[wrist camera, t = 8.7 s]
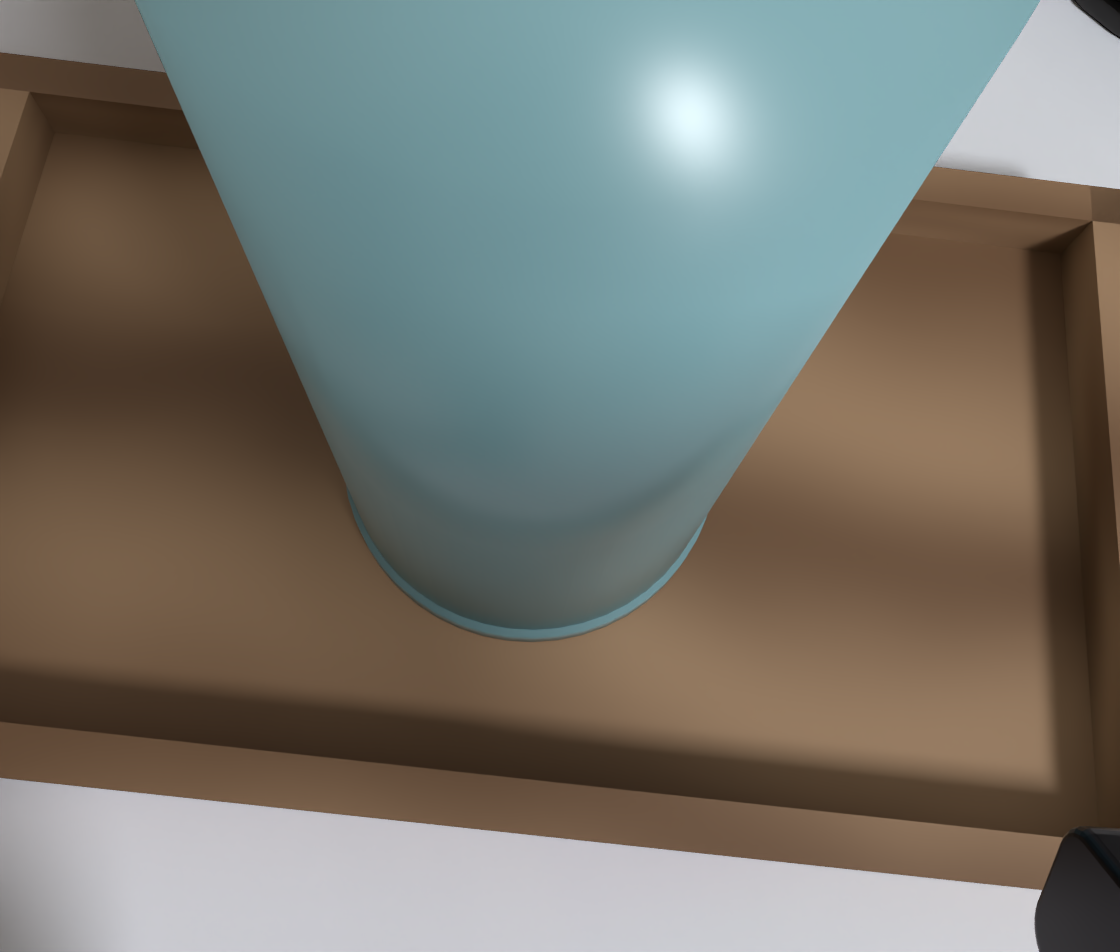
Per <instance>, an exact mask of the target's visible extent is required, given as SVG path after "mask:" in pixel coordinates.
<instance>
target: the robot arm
mask: <svg viewBox="0 0 1120 952" xmlns="http://www.w3.org/2000/svg"><path fill="white" fill-rule="evenodd" d="M1035 934H1036V940H1037V945H1038V949H1039V952H1120V828H1107V827H1094V826H1077V827H1073V828H1072V829H1070V830H1069V831H1068V832H1067V833H1066V834H1065V835H1064V837H1063V839H1062V841H1061V843H1060V846H1059V848H1058V851H1057V854H1056V856H1055V859H1054V861H1053V864H1052V867H1051V869H1050V872H1049V874H1048V877H1047V880H1046V882H1045V885H1044V887H1043V890H1042V892H1041V895H1040V898H1039V900H1038V903H1037V907H1036V912H1035Z"/></svg>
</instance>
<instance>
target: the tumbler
mask: <svg viewBox="0 0 1120 952" xmlns="http://www.w3.org/2000/svg"><path fill="white" fill-rule="evenodd" d="M135 2H136V5H137V7H138V9H139V12H140V14H141V16H142V18H143V21H144V23H145V25H146V28H147V30H148V32H149V34H150V37H151V39H152V41H153V44H154V46H155V48H156V51H157V53H158V55H159V57H160V60H161V62H162V64H163V67H164V69H165V71H166V73H167V76H168V78H169V80H170V83H171V85H172V87H173V89H174V92H175V94H176V96H177V99H178V101H179V103H180V105H181V108H182V110H183V112H184V115H185V117H186V119H187V121H188V124H189V126H190V128H191V131H192V133H193V135H194V137H195V140H196V142H197V144H198V147H199V149H200V151H201V153H202V156H203V158H204V160H205V163H206V165H207V167H208V169H209V172H210V174H211V176H212V179H213V181H214V183H215V186H216V188H217V190H218V192H219V195H220V197H221V199H222V202H223V204H224V206H225V208H226V211H227V213H228V215H229V218H230V220H231V222H232V224H233V227H234V229H235V231H236V234H237V236H238V238H239V240H240V243H241V245H242V247H243V250H244V252H245V254H246V256H247V259H248V261H249V263H250V266H251V268H252V270H253V272H254V275H255V277H256V279H257V282H258V284H259V286H260V288H261V291H262V293H263V295H264V298H265V300H266V302H267V304H268V307H269V309H270V311H271V314H272V316H273V318H274V321H275V323H276V325H277V327H278V330H279V332H280V334H281V337H282V339H283V341H284V343H285V346H286V348H287V350H288V353H289V355H290V357H291V359H292V362H293V364H294V366H295V369H296V371H297V373H298V375H299V378H300V380H301V382H302V385H303V387H304V389H305V391H306V394H307V396H308V398H309V401H310V403H311V405H312V407H313V410H314V412H315V414H316V417H317V419H318V421H319V423H320V426H321V428H322V430H323V433H324V435H325V437H326V439H327V442H328V444H329V446H330V449H331V451H332V453H333V456H334V458H335V460H336V462H337V465H338V467H339V469H340V472H341V474H342V476H343V478H344V481H345V483H346V488H347V494H348V499H349V502H350V505H351V508H352V511H353V515H354V518H355V521H356V523H357V525H358V527H359V529H360V531H361V534H362V536H363V538H364V540H365V542H366V544H367V546H368V548H369V550H370V552H371V553H372V555H373V557H374V558H375V560H376V561H377V563H378V564H379V566H380V567H381V569H382V570H383V571H384V573H385V574H386V575H387V576H388V577H389V578H390V579H391V580H392V582H393V583H394V584H395V585H396V586H397V587H398V588H399V589H400V590H401V591H402V592H403V593H404V594H405V595H407V596H408V597H409V598H410V599H411V600H412V601H414V602H415V603H416V604H417V605H419V606H420V607H422V608H423V609H425V610H426V611H428V612H429V613H431V614H432V615H434V616H435V617H437V618H439V619H441V620H443V621H445V622H447V623H449V624H451V625H453V626H455V627H458V628H460V629H463V630H466V631H469V632H472V633H475V634H478V635H481V636H485V637H490V638H495V639H501V640H506V641H520V642H542V641H555V640H561V639H566V638H571V637H576V636H580V635H584V634H587V633H590V632H592V631H595V630H598V629H601V628H604V627H606V626H608V625H610V624H612V623H614V622H616V621H618V620H620V619H622V618H624V617H626V616H627V615H629V614H630V613H632V612H633V611H635V610H636V609H638V608H639V607H640V606H642V605H643V604H645V603H646V602H647V601H648V600H650V599H651V598H652V597H653V596H654V595H655V594H656V593H657V592H658V591H659V590H660V589H662V588H663V587H664V586H665V584H666V583H667V582H668V581H669V580H670V578H671V577H672V576H673V575H674V574H675V572H676V571H677V570H678V569H679V567H680V566H681V564H682V563H683V561H684V560H685V558H686V557H687V555H688V553H689V552H690V550H691V549H692V547H693V545H694V544H695V542H696V540H697V538H698V536H699V534H700V532H701V529H702V527H703V525H704V522H705V520H706V518H707V514H708V512H709V511H710V509H711V508H712V506H713V505H714V503H715V502H716V500H717V498H718V497H719V495H720V494H721V492H722V491H723V489H724V488H725V486H726V485H727V483H728V482H729V480H730V478H731V477H732V475H733V474H734V472H735V471H736V469H737V468H738V466H739V465H740V463H741V462H742V460H743V459H744V457H745V455H746V454H747V452H748V451H749V449H750V448H751V446H752V445H753V443H754V442H755V440H756V439H757V437H758V435H759V434H760V432H761V431H762V429H763V428H764V426H765V425H766V423H767V422H768V420H769V419H770V417H771V415H772V414H773V412H774V411H775V409H776V408H777V406H778V405H779V403H780V402H781V400H782V399H783V397H784V395H785V394H786V392H787V391H788V389H789V388H790V386H791V385H792V383H793V382H794V380H795V379H796V377H797V376H798V374H799V372H800V371H801V369H802V368H803V366H804V365H805V363H806V362H807V360H808V359H809V357H810V356H811V354H812V352H813V351H814V349H815V348H816V346H817V345H818V343H819V342H820V340H821V339H822V337H823V336H824V334H825V332H826V331H827V329H828V328H829V326H830V325H831V323H832V322H833V320H834V319H835V317H836V316H837V314H838V313H839V311H840V309H841V308H842V306H843V305H844V303H845V302H846V300H847V299H848V297H849V296H850V294H851V293H852V291H853V289H854V288H855V286H856V285H857V283H858V282H859V280H860V279H861V277H862V276H863V274H864V273H865V271H866V269H867V268H868V266H869V265H870V263H871V262H872V260H873V259H874V257H875V256H876V254H877V253H878V251H879V250H880V248H881V246H882V245H883V243H884V242H885V240H886V239H887V237H888V236H889V234H890V233H891V231H892V230H893V228H894V226H895V225H896V223H897V222H898V220H899V219H900V217H901V216H902V214H903V213H904V211H905V210H906V208H907V206H908V205H909V203H910V202H911V200H912V199H913V197H914V196H915V194H916V193H917V191H918V190H919V188H920V186H921V185H922V183H923V182H924V180H925V179H926V177H927V176H928V174H929V173H930V171H931V170H932V168H933V167H934V165H935V163H936V162H937V160H938V159H939V157H940V156H941V154H942V153H943V151H944V150H945V148H946V147H947V145H948V143H949V142H950V140H951V139H952V137H953V136H954V134H955V133H956V131H957V130H958V128H959V127H960V125H961V123H962V122H963V120H964V119H965V117H966V116H967V114H968V113H969V111H970V110H971V108H972V107H973V105H974V104H975V102H976V100H977V99H978V97H979V96H980V94H981V93H982V91H983V90H984V88H985V87H986V85H987V84H988V82H989V80H990V79H991V77H992V76H993V74H994V73H995V71H996V70H997V68H998V67H999V65H1000V64H1001V62H1002V60H1003V59H1004V57H1005V56H1006V54H1007V53H1008V51H1009V50H1010V48H1011V47H1012V45H1013V44H1014V42H1015V40H1016V39H1017V37H1018V36H1019V34H1020V33H1021V31H1022V29H1023V28H1024V26H1025V24H1026V23H1027V21H1028V20H1029V18H1030V16H1031V15H1032V13H1033V11H1034V10H1035V8H1036V7H1037V5H1038V3H1039V2H1040V0H135Z"/></svg>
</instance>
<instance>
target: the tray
mask: <svg viewBox="0 0 1120 952" xmlns="http://www.w3.org/2000/svg"><path fill="white" fill-rule="evenodd" d="M0 778H8V779H17V780H26V781H36V782H45V783H54V784H63V785H73V786H82V787H91V788H101V789H110V790H119V791H128V792H138V793H147V794H156V795H166V796H175V797H184V798H193V799H203V800H212V801H221V802H231V803H240V804H249V805H259V806H268V807H277V808H286V809H296V810H305V811H314V812H324V813H333V814H342V815H351V816H361V817H370V818H379V819H389V820H398V821H407V822H416V823H426V824H435V825H444V826H454V827H463V828H472V829H481V830H491V831H500V832H509V833H519V834H528V835H537V836H546V837H556V838H565V839H574V840H584V841H593V842H602V843H611V844H621V845H630V846H639V847H649V848H658V849H667V850H676V851H686V852H695V853H704V854H714V855H723V856H732V857H741V858H751V859H760V860H769V861H779V862H788V863H797V864H806V865H816V866H825V867H834V868H844V869H853V870H862V871H871V872H881V873H890V874H899V875H909V876H918V877H927V878H936V879H946V880H955V881H964V882H974V883H983V884H992V885H1001V886H1011V887H1020V888H1029V889H1039V890H1043V887H1044V885H1045V882H1046V880H1047V877H1048V874H1049V872H1050V869H1051V867H1052V864H1053V861H1054V859H1055V856H1056V854H1057V851H1058V848H1059V846H1060V843H1061V841H1062V839H1063V837H1064V835H1065V834H1066V833H1067V832H1068V831H1069V830H1070V829H1072V828H1073V827H1077V826H1094V827H1107V828H1120V189H1113V188H1105V187H1096V186H1088V185H1080V184H1072V183H1064V182H1055V181H1047V180H1039V179H1031V178H1023V177H1015V176H1006V175H998V174H990V173H982V172H974V171H965V170H957V169H949V168H941V167H933V168H932V170H931V171H930V173H929V174H928V176H927V177H926V179H925V180H924V182H923V183H922V185H921V186H920V188H919V190H918V191H917V193H916V194H915V196H914V197H913V199H912V200H911V202H910V203H909V205H908V206H907V208H906V210H905V211H904V213H903V214H902V216H901V217H900V219H899V220H898V222H897V223H896V225H895V226H894V228H893V230H892V231H891V233H890V234H889V236H888V237H887V239H886V240H885V242H884V243H883V245H882V246H881V248H880V250H879V251H878V253H877V254H876V256H875V257H874V259H873V260H872V262H871V263H870V265H869V266H868V268H867V269H866V271H865V273H864V274H863V276H862V277H861V279H860V280H859V282H858V283H857V285H856V286H855V288H854V289H853V291H852V293H851V294H850V296H849V297H848V299H847V300H846V302H845V303H844V305H843V306H842V308H841V309H840V311H839V313H838V314H837V316H836V317H835V319H834V320H833V322H832V323H831V325H830V326H829V328H828V329H827V331H826V332H825V334H824V336H823V337H822V339H821V340H820V342H819V343H818V345H817V346H816V348H815V349H814V351H813V352H812V354H811V356H810V357H809V359H808V360H807V362H806V363H805V365H804V366H803V368H802V369H801V371H800V372H799V374H798V376H797V377H796V379H795V380H794V382H793V383H792V385H791V386H790V388H789V389H788V391H787V392H786V394H785V395H784V397H783V399H782V400H781V402H780V403H779V405H778V406H777V408H776V409H775V411H774V412H773V414H772V415H771V417H770V419H769V420H768V422H767V423H766V425H765V426H764V428H763V429H762V431H761V432H760V434H759V435H758V437H757V439H756V440H755V442H754V443H753V445H752V446H751V448H750V449H749V451H748V452H747V454H746V455H745V457H744V459H743V460H742V462H741V463H740V465H739V466H738V468H737V469H736V471H735V472H734V474H733V475H732V477H731V478H730V480H729V482H728V483H727V485H726V486H725V488H724V489H723V491H722V492H721V494H720V495H719V497H718V498H717V500H716V502H715V503H714V505H713V506H712V508H711V509H710V511H709V512H708V514H707V518H706V520H705V522H704V525H703V527H702V529H701V532H700V534H699V536H698V538H697V540H696V542H695V544H694V545H693V547H692V549H691V550H690V552H689V553H688V555H687V557H686V558H685V560H684V561H683V563H682V564H681V566H680V567H679V569H678V570H677V571H676V572H675V574H674V575H673V576H672V577H671V578H670V580H669V581H668V582H667V583H666V584H665V586H664V587H663V588H662V589H660V590H659V591H658V592H657V593H656V594H655V595H654V596H653V597H652V598H651V599H650V600H648V601H647V602H646V603H645V604H643V605H642V606H640V607H639V608H638V609H636V610H635V611H633V612H632V613H630V614H629V615H627V616H626V617H624V618H622V619H620V620H618V621H616V622H614V623H612V624H610V625H608V626H606V627H604V628H601V629H598V630H595V631H592V632H590V633H587V634H584V635H580V636H576V637H571V638H566V639H561V640H555V641H542V642H520V641H506V640H501V639H495V638H490V637H485V636H481V635H478V634H475V633H472V632H469V631H466V630H463V629H460V628H458V627H455V626H453V625H451V624H449V623H447V622H445V621H443V620H441V619H439V618H437V617H435V616H434V615H432V614H431V613H429V612H428V611H426V610H425V609H423V608H422V607H420V606H419V605H417V604H416V603H415V602H414V601H412V600H411V599H410V598H409V597H408V596H407V595H405V594H404V593H403V592H402V591H401V590H400V589H399V588H398V587H397V586H396V585H395V584H394V583H393V582H392V580H391V579H390V578H389V577H388V576H387V575H386V574H385V573H384V571H383V570H382V569H381V567H380V566H379V564H378V563H377V561H376V560H375V558H374V557H373V555H372V553H371V552H370V550H369V548H368V546H367V544H366V542H365V540H364V538H363V536H362V534H361V531H360V529H359V527H358V525H357V523H356V521H355V518H354V515H353V511H352V508H351V505H350V502H349V499H348V494H347V488H346V483H345V481H344V478H343V476H342V474H341V472H340V469H339V467H338V465H337V462H336V460H335V458H334V456H333V453H332V451H331V449H330V446H329V444H328V442H327V439H326V437H325V435H324V433H323V430H322V428H321V426H320V423H319V421H318V419H317V417H316V414H315V412H314V410H313V407H312V405H311V403H310V401H309V398H308V396H307V394H306V391H305V389H304V387H303V385H302V382H301V380H300V378H299V375H298V373H297V371H296V369H295V366H294V364H293V362H292V359H291V357H290V355H289V353H288V350H287V348H286V346H285V343H284V341H283V339H282V337H281V334H280V332H279V330H278V327H277V325H276V323H275V321H274V318H273V316H272V314H271V311H270V309H269V307H268V304H267V302H266V300H265V298H264V295H263V293H262V291H261V288H260V286H259V284H258V282H257V279H256V277H255V275H254V272H253V270H252V268H251V266H250V263H249V261H248V259H247V256H246V254H245V252H244V250H243V247H242V245H241V243H240V240H239V238H238V236H237V234H236V231H235V229H234V227H233V224H232V222H231V220H230V218H229V215H228V213H227V211H226V208H225V206H224V204H223V202H222V199H221V197H220V195H219V192H218V190H217V188H216V186H215V183H214V181H213V179H212V176H211V174H210V172H209V169H208V167H207V165H206V163H205V160H204V158H203V156H202V153H201V151H200V149H199V147H198V144H197V142H196V140H195V137H194V135H193V133H192V131H191V128H190V126H189V124H188V121H187V119H186V117H185V115H184V112H183V110H182V108H181V105H180V103H179V101H178V99H177V96H176V94H175V92H174V89H173V87H172V85H171V83H170V80H169V78H168V76H167V73H164V72H156V71H147V70H139V69H131V68H123V67H115V66H106V65H98V64H90V63H82V62H74V61H66V60H57V59H49V58H41V57H33V56H25V55H17V54H8V53H0Z"/></svg>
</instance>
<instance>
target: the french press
mask: <svg viewBox="0 0 1120 952" xmlns="http://www.w3.org/2000/svg"><path fill="white" fill-rule="evenodd" d="M1075 1H1076V2H1077V3H1078V4H1079V5H1080V6H1081V7H1082V9H1083V10H1085V11H1086V12H1087V13H1088V14H1090V15H1091V16H1092V17H1094V18H1095V19H1096V20H1097V21H1099V22H1100V23H1101V24H1102V25H1104V26H1105V27H1106V28H1107V29H1109V30H1110V31H1111V32H1112V33H1114V34H1115V35H1117V36H1119V37H1120V0H1075Z"/></svg>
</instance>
